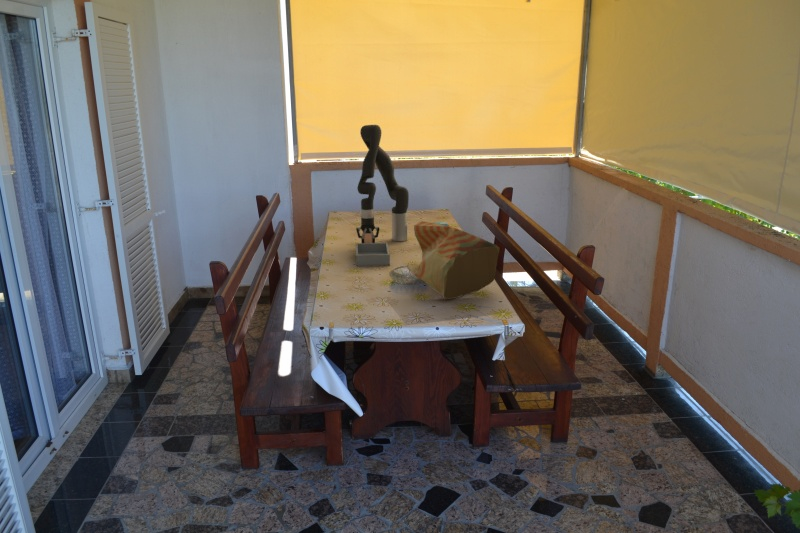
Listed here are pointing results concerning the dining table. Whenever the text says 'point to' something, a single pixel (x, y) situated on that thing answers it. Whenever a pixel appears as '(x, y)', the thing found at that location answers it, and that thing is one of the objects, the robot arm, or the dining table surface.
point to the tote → (372, 254)
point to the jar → (368, 238)
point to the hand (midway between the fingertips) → (368, 244)
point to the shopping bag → (453, 260)
